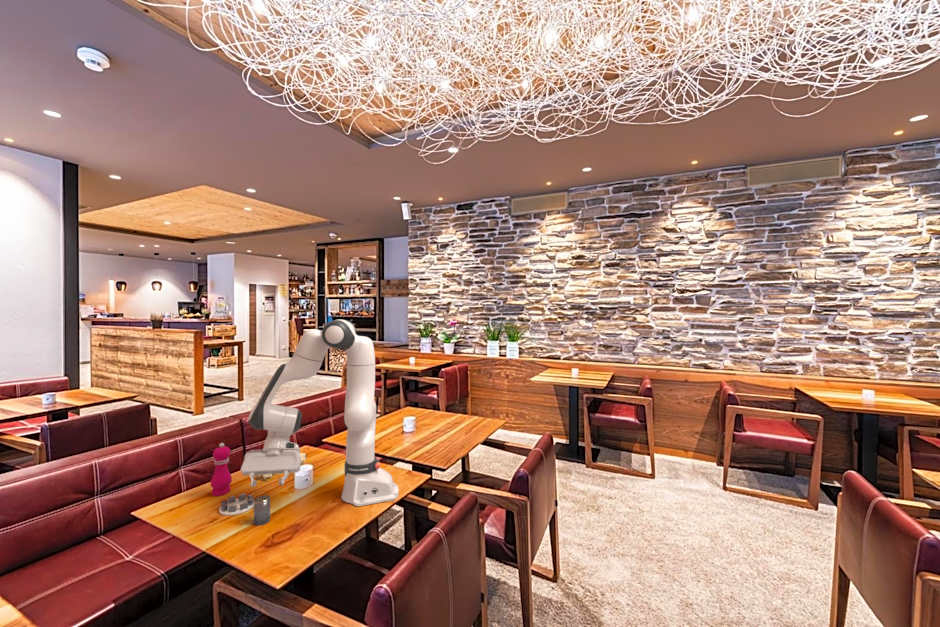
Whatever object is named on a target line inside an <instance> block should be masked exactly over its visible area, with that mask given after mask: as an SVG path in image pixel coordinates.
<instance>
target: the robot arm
mask: <svg viewBox="0 0 940 627" xmlns="http://www.w3.org/2000/svg"><path fill="white" fill-rule="evenodd" d="M330 348H333V349H337V350H341V351H345V353H346V386H345V387H346V388H345V400H344V416H343V418H344V419H343V420H344V424H345V426H346V427H347V432H346V433H347V434H346V439H345V440H346V442H345V446H346V447H345V461H344V468H343V469H344V482H343V483H344V484H343V489H342V492H341V500H342V501H343V502H345V503H349V504H352V505H353V506H355V507H362V506H368V505H373V504H379V503H383V502H391V501H394V500H396V499H397V498H398V497H399V493H400V490H399V489H400V488H399V486H398V485H397V483H395V482H394V480H393V476H392V475H391V473H390V472H389V471H387V470H385V469H383V468H382V467H381V463H380V458H379V457H377V458H376V457H375V456H376V455H375V454H376V453H375V451H376V450H375V447H376V446H375V444H376V442H375V441H376V440H375V439H376V426H377V425H376V424H377V423H376V422H377V403H376V401H375V391H376V390H375V388H376V354H375V347H374V342H373V340H372V339H371V338H370V337H368V336H364V335H358V334H357V329H356V327H355V325H354V323H353V322H351V321H349V320H346V319H341V318H340V319H335V320H330V321H329V322H327V323H326V324H325V325H324V326H323V328H322V330H321V329H316V328H313V329H312V328H311V329H307V330H306V331H304V333H303V334H302V335H301V338H300V340H299V341H298V343H297V345H296V347H295V349H294V353H293V355H292V356H291V358H290V359H289V360H288V361H287V362H286V363H281V365H280V366H279V367H278V368H277V369H276V370H275V372H274V374H273V376H272V377H271V378H270V380H269V382H268V383H267V385H266V387H265V389H264V391H263V392H262V394H261V396H260V398H259V399H258V401H257V402H256V403H255V404H254V406H253V407H252V409H251V410H250V412H249V415H248V421H247V422H248V424H249V426H250V427H251V428H252V429H254V430H259V431H260V430H261V431H265V430H266V431H267V437H266V438H265V441H264V445H263V448H262V449H250V450H249V451H247V452H246V453H245V454H244V457H243V459H244V460H243V462H242V464H241V467H240V472H241V474H242V475H243V476H249V477H250V480H251V482H250V487H251V488H253V487H257V484H258V483H257V482H258V481H257V480H256V476H257V475H263V474H272V475H275V474H276V475H278V474H283V476H282V477H281V478H279V479H278V485H279V486H281V485H282V486H283V485H284V484H285V481H286V480H287V478H288V477H289V476H290V474H297V473H298V472H299V471H300V470H301V466H302V464H301V458H300V455H299V454H300V453H301V450H300V446H299V445H298V443H295V442H292V441H290V437H291V436H292V435H294V434H296V433H297V432H298V431H299V430H300V429H301V425H302V418H303V413H302V412H301V410H300V409H298V408H296V407H291V406H284V405H279V404H274V403H272V401H273V400H274V398H275V395H276V394H277V392H278V391H279V389H280V387H281V386H283V384H285V383H289V382H292V381H301V380H306V379H309V378H312V377H314V376H315V375H316V374H317V373H318V372H319V370H320V368H321V366H322V364H323V361H324V359H325V355H326V353H327V351H328V350H329V349H330ZM254 478H255V479H254Z"/></svg>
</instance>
